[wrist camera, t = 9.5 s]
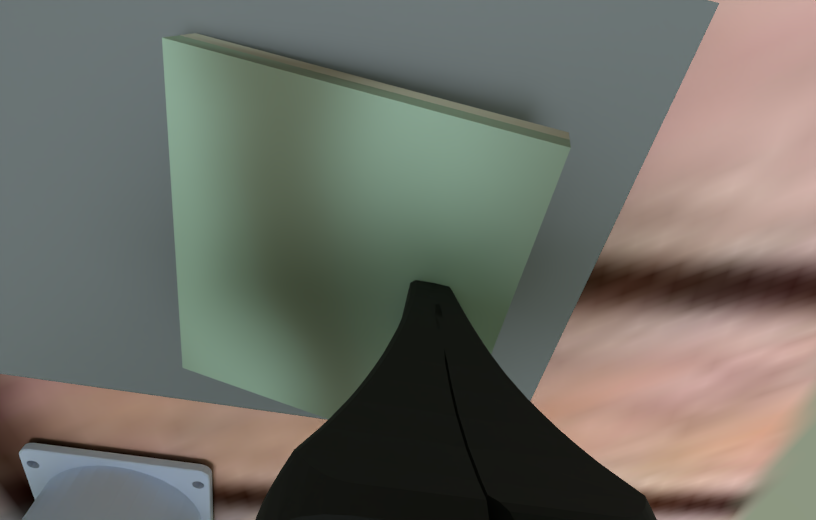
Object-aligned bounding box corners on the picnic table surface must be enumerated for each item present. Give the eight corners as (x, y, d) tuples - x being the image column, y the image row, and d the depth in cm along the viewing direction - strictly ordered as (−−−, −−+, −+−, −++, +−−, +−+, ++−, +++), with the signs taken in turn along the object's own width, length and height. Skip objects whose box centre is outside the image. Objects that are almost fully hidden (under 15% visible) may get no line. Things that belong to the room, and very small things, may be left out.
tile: (162, 37, 11) (195, 32, 12) (182, 367, 16) (204, 344, 17) (571, 148, 10) (568, 132, 11) (449, 461, 15) (455, 431, 16)
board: (505, 424, 20) (509, 444, 20) (-60, 343, 18) (-83, 362, 18) (697, -1, 12) (719, 3, 11) (-295, -237, 10) (-360, -254, 9)
